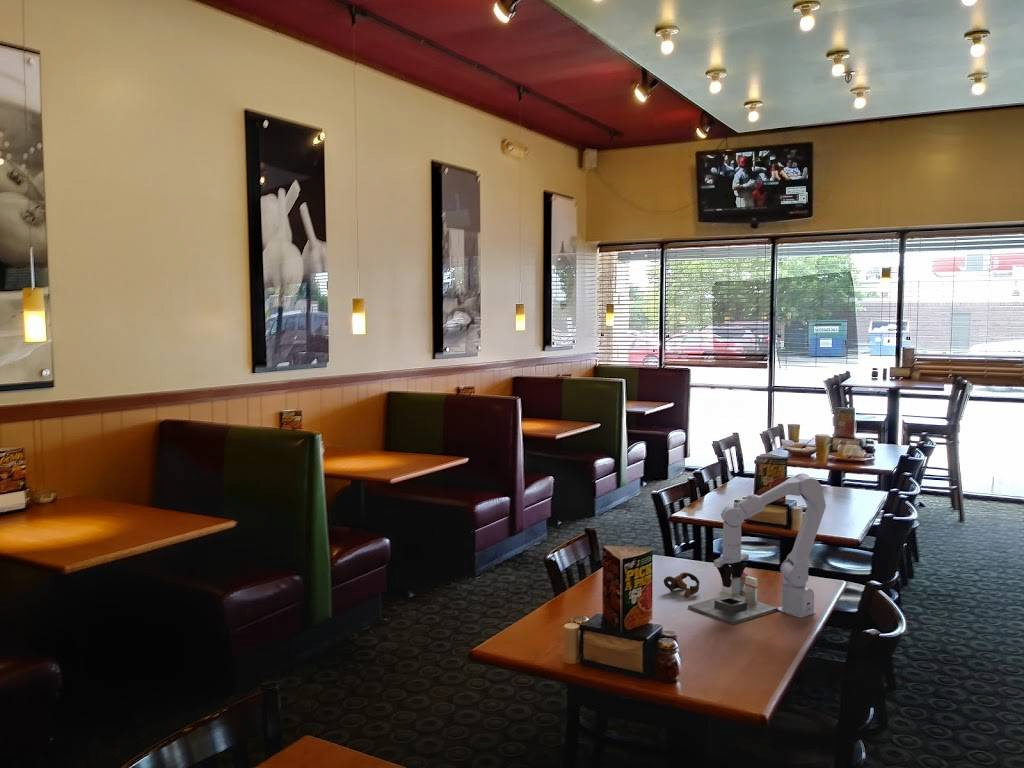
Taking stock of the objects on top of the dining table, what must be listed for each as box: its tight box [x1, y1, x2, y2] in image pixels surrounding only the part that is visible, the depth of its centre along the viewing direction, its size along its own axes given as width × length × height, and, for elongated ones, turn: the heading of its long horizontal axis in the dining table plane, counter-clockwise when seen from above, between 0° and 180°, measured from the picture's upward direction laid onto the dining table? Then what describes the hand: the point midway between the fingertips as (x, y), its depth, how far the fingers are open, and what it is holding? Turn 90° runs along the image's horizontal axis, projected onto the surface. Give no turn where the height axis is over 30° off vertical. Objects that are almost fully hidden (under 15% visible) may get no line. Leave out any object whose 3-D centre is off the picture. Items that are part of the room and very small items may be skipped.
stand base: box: [687, 575, 778, 625], centre depth 265 cm, size 18×22×9 cm
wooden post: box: [721, 575, 741, 599], centre depth 264 cm, size 4×4×6 cm
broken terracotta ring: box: [663, 571, 700, 599], centre depth 281 cm, size 12×10×8 cm
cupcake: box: [731, 571, 749, 592], centre depth 285 cm, size 9×8×12 cm
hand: (731, 585), depth 264 cm, fingers closed on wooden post, 4 cm apart
